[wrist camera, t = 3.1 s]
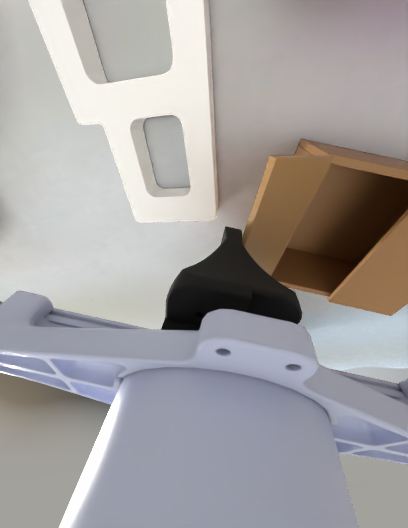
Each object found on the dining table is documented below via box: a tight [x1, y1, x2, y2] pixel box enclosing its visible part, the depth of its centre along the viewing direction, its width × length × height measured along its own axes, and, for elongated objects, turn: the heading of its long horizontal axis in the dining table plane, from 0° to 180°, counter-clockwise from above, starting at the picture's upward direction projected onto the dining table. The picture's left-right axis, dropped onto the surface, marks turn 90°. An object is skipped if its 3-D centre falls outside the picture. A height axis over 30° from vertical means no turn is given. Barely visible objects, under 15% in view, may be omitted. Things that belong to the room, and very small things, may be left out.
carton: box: [270, 139, 408, 316], centre depth 17 cm, size 12×11×8 cm
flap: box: [242, 155, 333, 275], centre depth 13 cm, size 6×11×1 cm
